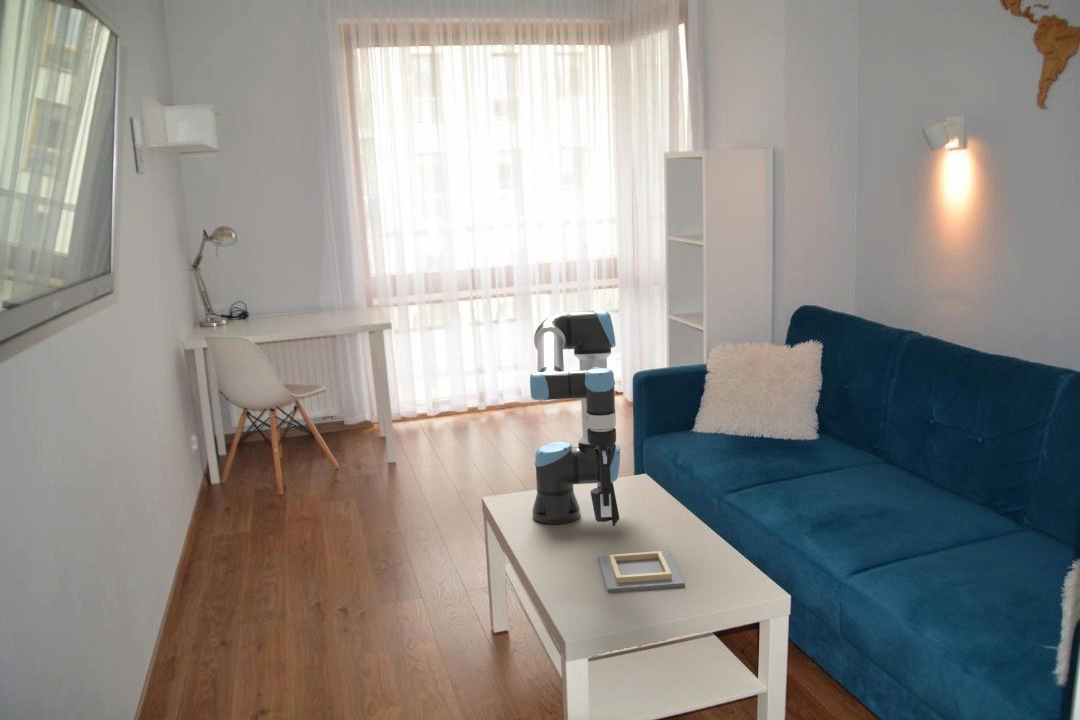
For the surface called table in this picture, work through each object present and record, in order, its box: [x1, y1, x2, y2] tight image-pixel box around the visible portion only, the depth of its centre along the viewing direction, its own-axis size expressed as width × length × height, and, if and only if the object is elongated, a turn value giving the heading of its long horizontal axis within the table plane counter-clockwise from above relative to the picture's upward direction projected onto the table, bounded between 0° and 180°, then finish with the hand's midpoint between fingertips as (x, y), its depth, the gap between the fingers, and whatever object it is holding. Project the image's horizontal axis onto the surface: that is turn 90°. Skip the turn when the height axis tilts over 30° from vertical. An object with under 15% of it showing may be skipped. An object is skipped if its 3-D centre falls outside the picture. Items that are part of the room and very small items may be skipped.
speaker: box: [589, 482, 621, 527], centre depth 229 cm, size 8×6×10 cm
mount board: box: [597, 550, 686, 593], centre depth 231 cm, size 20×20×2 cm
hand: (604, 510), depth 229 cm, fingers closed on speaker, 8 cm apart
